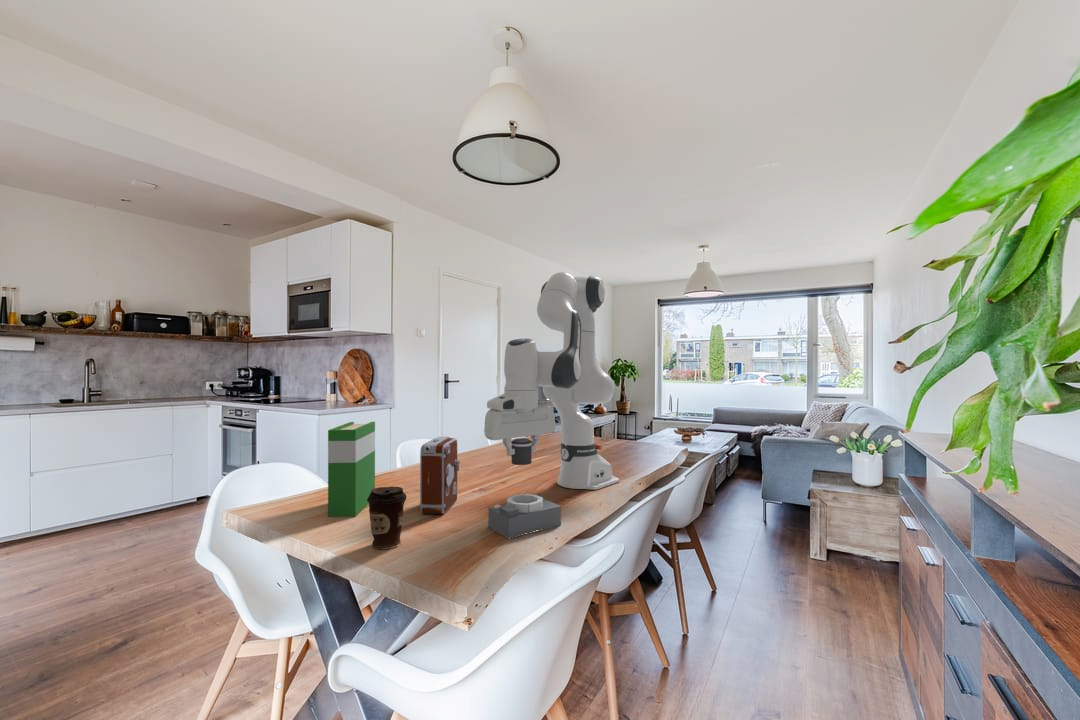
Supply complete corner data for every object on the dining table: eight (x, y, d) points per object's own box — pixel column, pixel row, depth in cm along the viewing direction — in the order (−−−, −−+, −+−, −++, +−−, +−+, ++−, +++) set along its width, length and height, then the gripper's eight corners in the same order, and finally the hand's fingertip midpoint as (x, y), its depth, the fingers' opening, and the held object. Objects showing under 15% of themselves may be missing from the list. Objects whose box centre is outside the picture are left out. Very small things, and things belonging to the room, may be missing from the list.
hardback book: (350, 498, 144) (350, 421, 144) (374, 497, 144) (374, 421, 144) (328, 517, 126) (328, 430, 126) (355, 516, 127) (355, 430, 127)
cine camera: (466, 496, 146) (466, 433, 146) (447, 516, 127) (447, 444, 127) (437, 495, 147) (437, 432, 147) (415, 515, 128) (415, 443, 128)
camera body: (538, 514, 128) (538, 489, 128) (560, 525, 120) (560, 498, 120) (488, 527, 119) (488, 500, 119) (509, 539, 111) (509, 510, 111)
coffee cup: (384, 555, 101) (384, 496, 101) (358, 548, 106) (358, 491, 106) (413, 542, 109) (413, 487, 109) (388, 535, 113) (388, 482, 113)
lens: (524, 459, 124) (524, 437, 124) (535, 463, 119) (535, 440, 119) (507, 462, 120) (507, 439, 120) (518, 466, 116) (518, 442, 116)
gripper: (546, 397, 128) (546, 447, 129) (481, 402, 117) (481, 456, 117) (560, 399, 123) (560, 450, 123) (493, 404, 111) (493, 461, 111)
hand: (521, 453), depth 120 cm, fingers closed on lens, 5 cm apart
